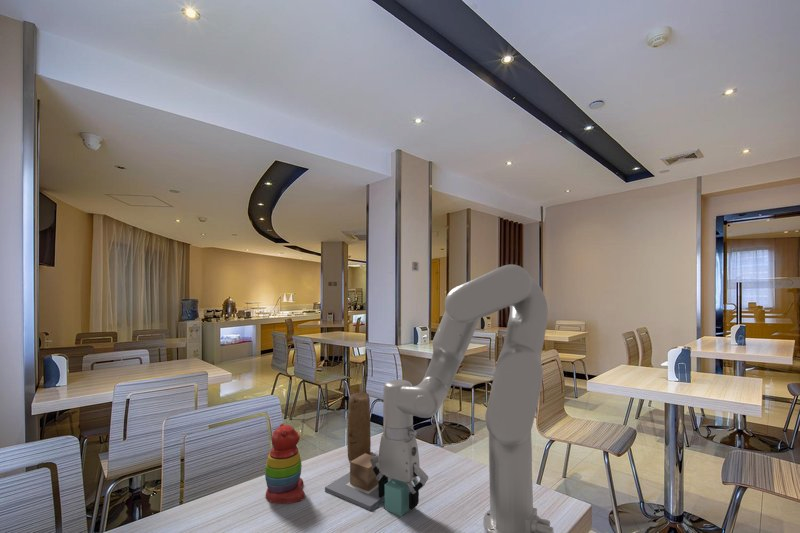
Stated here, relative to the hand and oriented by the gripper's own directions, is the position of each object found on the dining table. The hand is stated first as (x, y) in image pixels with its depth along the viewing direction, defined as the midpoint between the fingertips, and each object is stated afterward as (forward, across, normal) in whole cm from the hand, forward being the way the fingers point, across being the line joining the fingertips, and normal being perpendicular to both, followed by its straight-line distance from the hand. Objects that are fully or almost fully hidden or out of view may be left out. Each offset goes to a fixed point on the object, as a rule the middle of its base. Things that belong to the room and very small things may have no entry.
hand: (397, 500), depth 93 cm
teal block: (+2, 0, 0) cm, 2 cm away
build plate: (+2, +13, -3) cm, 13 cm away
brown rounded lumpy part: (+2, +27, -16) cm, 31 cm away
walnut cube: (+1, +13, -3) cm, 13 cm away
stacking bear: (+2, +29, +12) cm, 31 cm away
